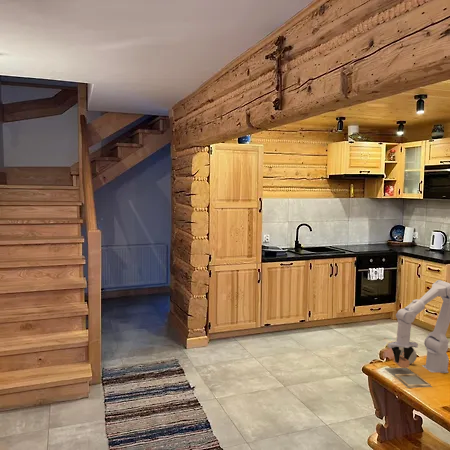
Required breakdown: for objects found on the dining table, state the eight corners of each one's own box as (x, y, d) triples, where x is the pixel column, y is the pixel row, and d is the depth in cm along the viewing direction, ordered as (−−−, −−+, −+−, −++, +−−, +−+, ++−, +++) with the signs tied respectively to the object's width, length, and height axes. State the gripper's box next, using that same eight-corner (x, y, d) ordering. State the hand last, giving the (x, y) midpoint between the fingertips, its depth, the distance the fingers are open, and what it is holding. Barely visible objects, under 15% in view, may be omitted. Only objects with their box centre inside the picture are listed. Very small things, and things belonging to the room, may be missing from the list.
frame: (416, 375, 205) (416, 373, 205) (430, 386, 194) (430, 384, 194) (394, 376, 203) (394, 374, 203) (408, 387, 193) (408, 385, 192)
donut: (415, 365, 219) (417, 345, 218) (415, 367, 216) (417, 348, 215) (394, 360, 223) (396, 342, 222) (394, 363, 220) (395, 344, 219)
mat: (406, 369, 213) (407, 367, 213) (432, 388, 194) (432, 386, 194) (384, 369, 211) (384, 368, 211) (407, 389, 192) (407, 387, 192)
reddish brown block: (393, 361, 211) (393, 355, 211) (400, 361, 212) (401, 354, 212) (401, 367, 205) (401, 361, 204) (409, 367, 205) (409, 360, 205)
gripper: (394, 337, 202) (391, 365, 203) (422, 337, 204) (420, 365, 205) (386, 332, 209) (383, 359, 210) (413, 331, 211) (411, 358, 212)
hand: (401, 361), depth 208 cm, fingers closed on reddish brown block, 4 cm apart
